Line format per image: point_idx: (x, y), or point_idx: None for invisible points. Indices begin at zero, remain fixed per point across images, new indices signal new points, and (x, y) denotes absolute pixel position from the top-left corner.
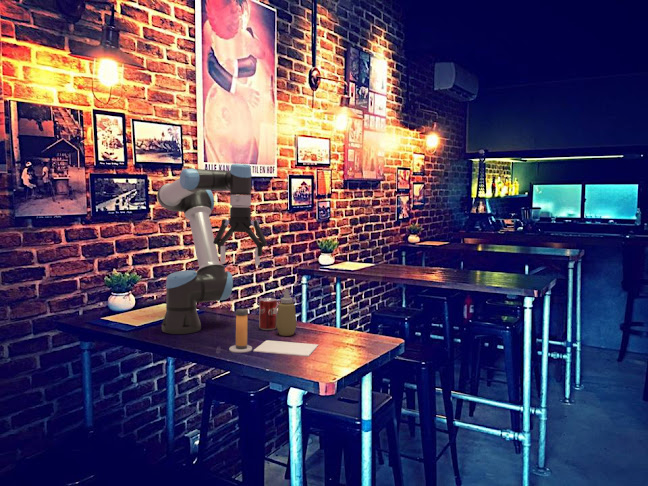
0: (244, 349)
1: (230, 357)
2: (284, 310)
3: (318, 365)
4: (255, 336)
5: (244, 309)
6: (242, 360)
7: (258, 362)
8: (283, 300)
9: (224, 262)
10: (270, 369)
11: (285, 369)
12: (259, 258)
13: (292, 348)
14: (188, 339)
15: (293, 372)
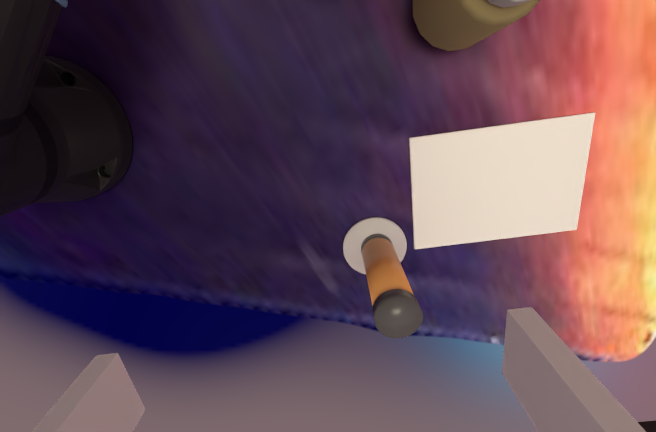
0: None
1: None
2: (493, 30)
3: (607, 280)
4: (347, 95)
5: (403, 307)
6: None
7: (460, 312)
8: (509, 3)
9: (120, 375)
10: (501, 339)
11: None
12: (584, 372)
13: (517, 189)
14: (180, 221)
15: None
